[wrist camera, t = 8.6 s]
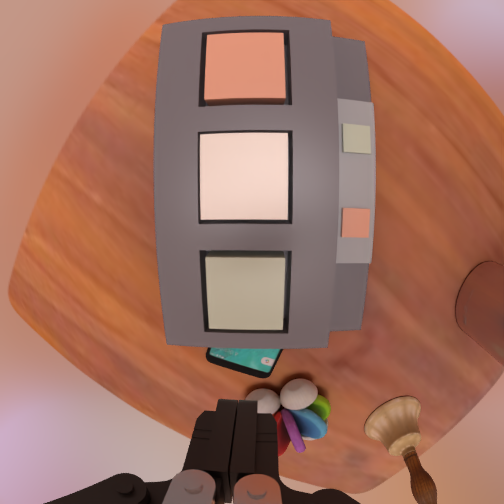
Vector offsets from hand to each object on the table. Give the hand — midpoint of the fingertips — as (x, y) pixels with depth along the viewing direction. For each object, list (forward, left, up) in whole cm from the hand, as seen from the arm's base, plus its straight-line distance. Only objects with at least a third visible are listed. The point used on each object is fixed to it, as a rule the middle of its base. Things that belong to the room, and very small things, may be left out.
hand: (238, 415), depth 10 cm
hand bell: (-19, +20, -17) cm, 32 cm away
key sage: (0, 0, -15) cm, 15 cm away
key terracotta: (0, -18, -15) cm, 24 cm away
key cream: (0, -9, -14) cm, 17 cm away
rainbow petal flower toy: (-4, +15, -18) cm, 24 cm away
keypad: (-2, -9, -17) cm, 19 cm away
